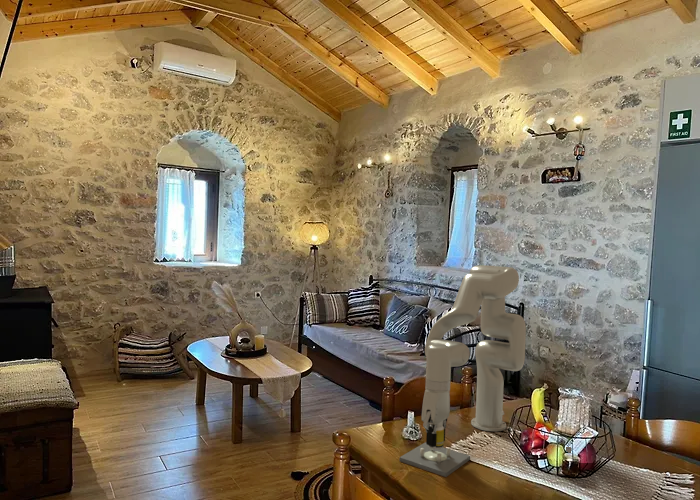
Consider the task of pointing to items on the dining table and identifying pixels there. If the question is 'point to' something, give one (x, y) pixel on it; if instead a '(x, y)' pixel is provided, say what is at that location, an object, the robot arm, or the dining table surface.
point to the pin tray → (435, 459)
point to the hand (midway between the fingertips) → (435, 442)
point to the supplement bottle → (438, 436)
